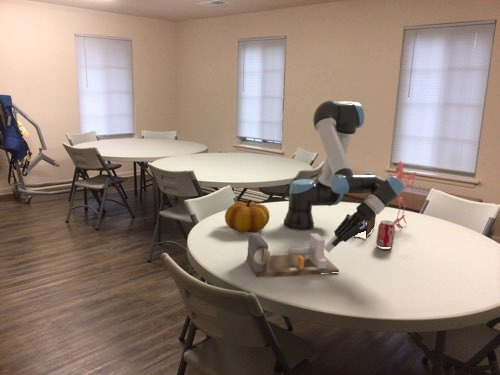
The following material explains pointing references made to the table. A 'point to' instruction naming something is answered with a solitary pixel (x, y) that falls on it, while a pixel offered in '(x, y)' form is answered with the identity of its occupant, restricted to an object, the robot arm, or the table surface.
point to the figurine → (400, 175)
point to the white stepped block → (313, 251)
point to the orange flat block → (301, 262)
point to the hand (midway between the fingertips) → (325, 249)
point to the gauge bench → (279, 261)
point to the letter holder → (368, 227)
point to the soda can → (385, 234)
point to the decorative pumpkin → (247, 217)
